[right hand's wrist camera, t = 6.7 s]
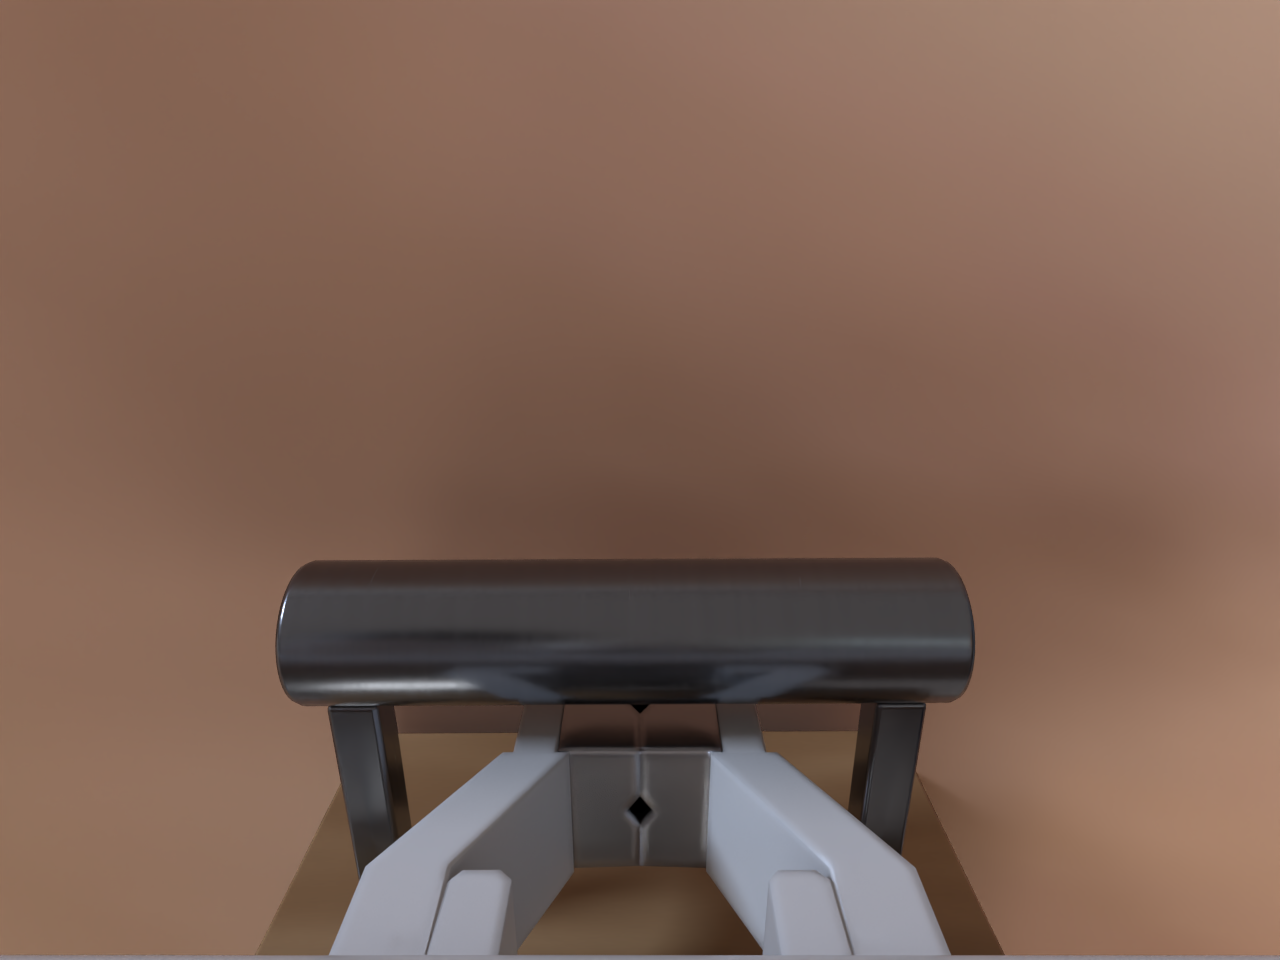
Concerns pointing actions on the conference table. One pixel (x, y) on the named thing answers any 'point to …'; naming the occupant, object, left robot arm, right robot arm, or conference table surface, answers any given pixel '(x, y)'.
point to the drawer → (611, 675)
